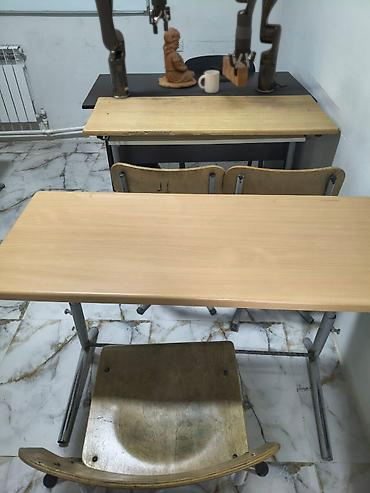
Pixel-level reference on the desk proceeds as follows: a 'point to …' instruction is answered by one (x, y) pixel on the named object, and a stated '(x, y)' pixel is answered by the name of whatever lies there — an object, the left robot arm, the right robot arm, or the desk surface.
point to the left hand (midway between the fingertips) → (161, 32)
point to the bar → (241, 72)
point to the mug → (210, 81)
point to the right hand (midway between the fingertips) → (240, 75)
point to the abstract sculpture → (220, 69)
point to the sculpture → (175, 63)
